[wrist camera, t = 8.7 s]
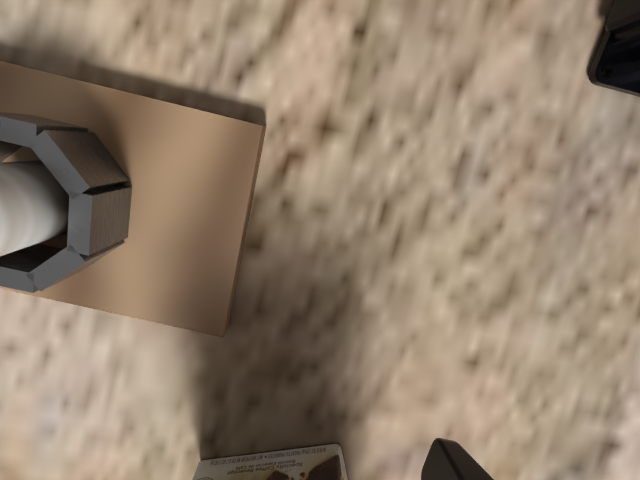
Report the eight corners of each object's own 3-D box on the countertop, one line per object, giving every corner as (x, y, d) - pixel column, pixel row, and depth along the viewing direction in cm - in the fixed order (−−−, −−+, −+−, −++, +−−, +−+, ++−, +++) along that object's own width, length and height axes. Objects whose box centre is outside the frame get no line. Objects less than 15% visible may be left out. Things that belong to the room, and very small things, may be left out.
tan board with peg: (266, 126, 17) (235, 117, 11) (227, 327, 20) (187, 403, 14) (-31, 53, 16) (-225, 3, 11) (-27, 271, 19) (-179, 326, 13)
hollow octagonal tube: (136, 139, 16) (96, 138, 13) (124, 278, 18) (85, 304, 15) (-19, 103, 16) (-94, 94, 13) (-16, 248, 18) (-82, 268, 15)
